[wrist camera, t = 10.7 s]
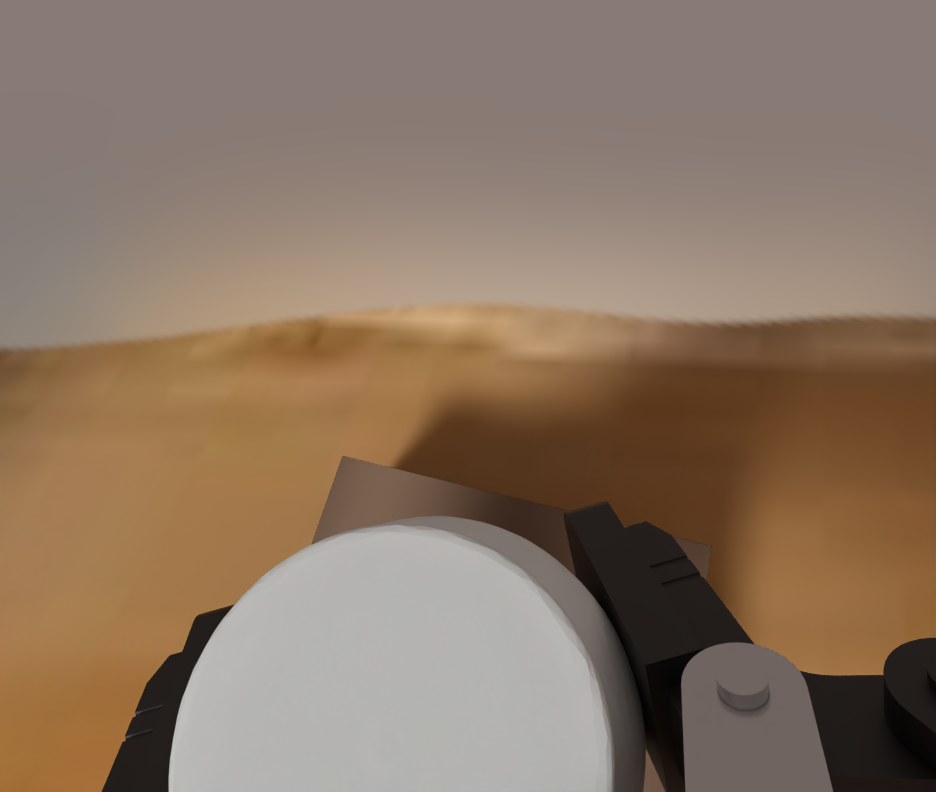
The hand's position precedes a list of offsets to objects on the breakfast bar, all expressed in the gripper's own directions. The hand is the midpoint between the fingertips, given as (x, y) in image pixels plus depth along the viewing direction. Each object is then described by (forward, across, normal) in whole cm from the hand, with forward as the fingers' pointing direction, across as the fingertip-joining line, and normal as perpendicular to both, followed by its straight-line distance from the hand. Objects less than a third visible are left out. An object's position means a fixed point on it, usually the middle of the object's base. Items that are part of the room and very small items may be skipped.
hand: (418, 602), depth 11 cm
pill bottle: (+2, 0, +5) cm, 5 cm away
